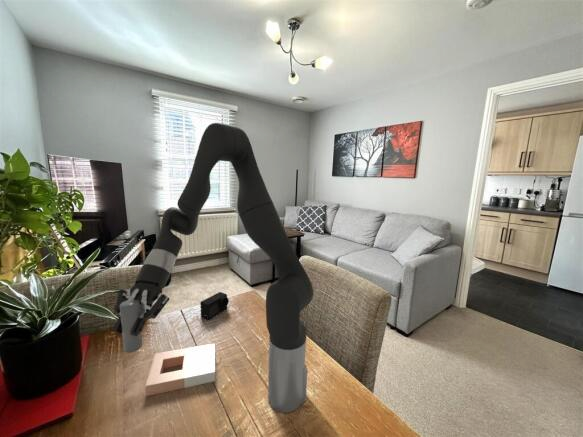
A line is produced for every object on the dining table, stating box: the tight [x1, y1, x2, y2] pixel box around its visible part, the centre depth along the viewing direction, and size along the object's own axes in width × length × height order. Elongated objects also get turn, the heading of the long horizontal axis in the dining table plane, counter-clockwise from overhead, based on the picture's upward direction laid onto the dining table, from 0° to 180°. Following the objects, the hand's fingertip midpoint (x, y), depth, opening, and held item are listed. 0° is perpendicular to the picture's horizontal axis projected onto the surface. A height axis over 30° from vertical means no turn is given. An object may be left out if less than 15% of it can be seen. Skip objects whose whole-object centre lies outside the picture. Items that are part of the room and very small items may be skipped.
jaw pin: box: [119, 300, 143, 353], centre depth 61 cm, size 4×4×12 cm
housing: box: [145, 343, 216, 397], centre depth 70 cm, size 17×12×3 cm
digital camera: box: [200, 291, 230, 321], centre depth 100 cm, size 10×5×7 cm, turn 150°
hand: (125, 333), depth 59 cm, fingers closed on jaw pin, 4 cm apart
